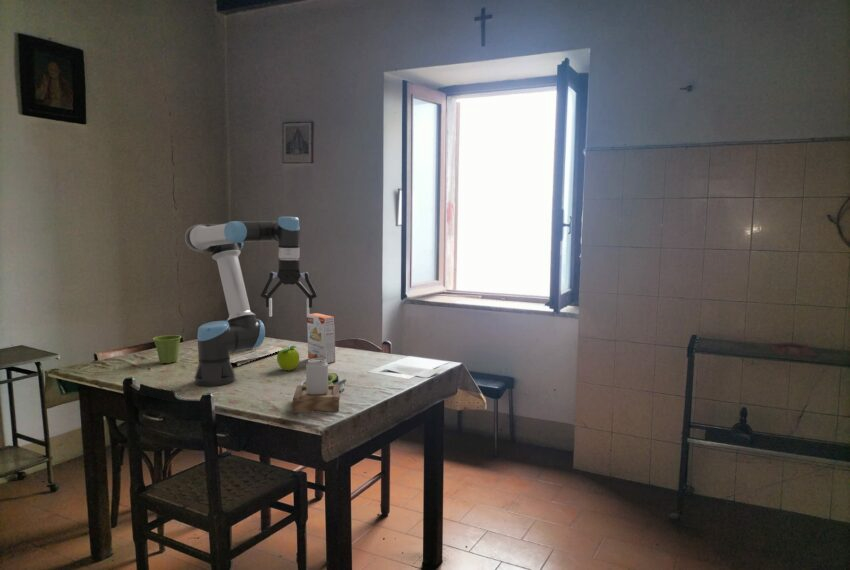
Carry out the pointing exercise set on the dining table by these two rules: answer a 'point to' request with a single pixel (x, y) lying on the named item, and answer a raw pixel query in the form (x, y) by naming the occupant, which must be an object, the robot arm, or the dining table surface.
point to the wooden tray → (316, 400)
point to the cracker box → (321, 337)
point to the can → (317, 377)
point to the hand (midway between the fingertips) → (289, 316)
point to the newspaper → (254, 355)
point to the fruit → (288, 358)
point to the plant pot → (167, 348)
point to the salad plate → (332, 380)
